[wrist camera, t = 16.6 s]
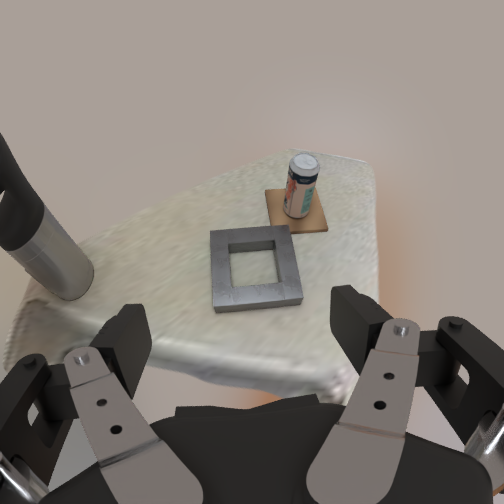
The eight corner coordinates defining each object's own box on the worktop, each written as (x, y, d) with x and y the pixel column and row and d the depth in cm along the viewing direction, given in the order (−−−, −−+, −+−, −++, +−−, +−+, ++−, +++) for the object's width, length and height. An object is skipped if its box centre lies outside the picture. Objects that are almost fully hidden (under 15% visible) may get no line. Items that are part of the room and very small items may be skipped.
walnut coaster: (272, 235, 51) (272, 233, 50) (265, 192, 56) (265, 189, 55) (327, 231, 51) (328, 228, 51) (314, 190, 56) (315, 187, 56)
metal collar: (215, 313, 43) (213, 306, 41) (211, 240, 50) (210, 230, 47) (300, 304, 44) (303, 297, 42) (286, 234, 51) (288, 224, 48)
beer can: (287, 196, 54) (294, 147, 44) (311, 203, 53) (323, 155, 43) (279, 215, 52) (286, 166, 41) (305, 223, 51) (317, 175, 41)
